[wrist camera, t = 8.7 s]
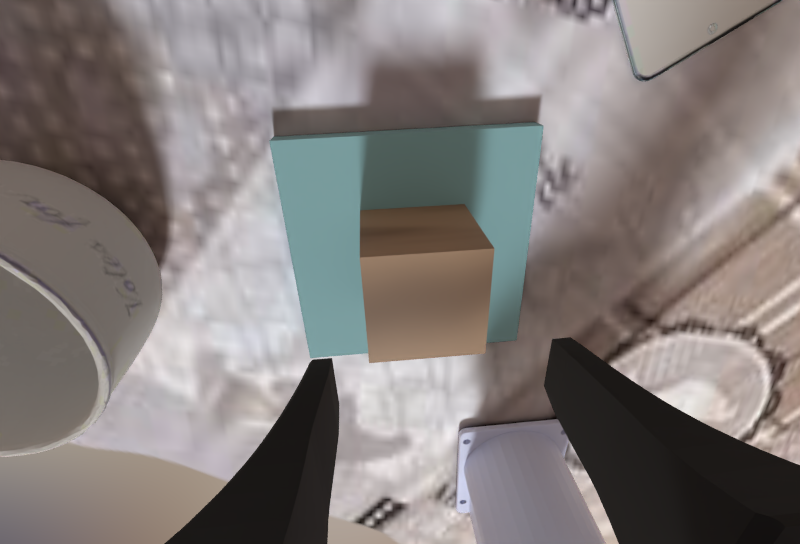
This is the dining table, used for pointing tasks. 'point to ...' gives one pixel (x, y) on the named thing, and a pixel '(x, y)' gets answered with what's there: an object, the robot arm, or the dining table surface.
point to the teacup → (66, 306)
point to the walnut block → (424, 282)
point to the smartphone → (677, 29)
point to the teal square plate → (400, 188)
